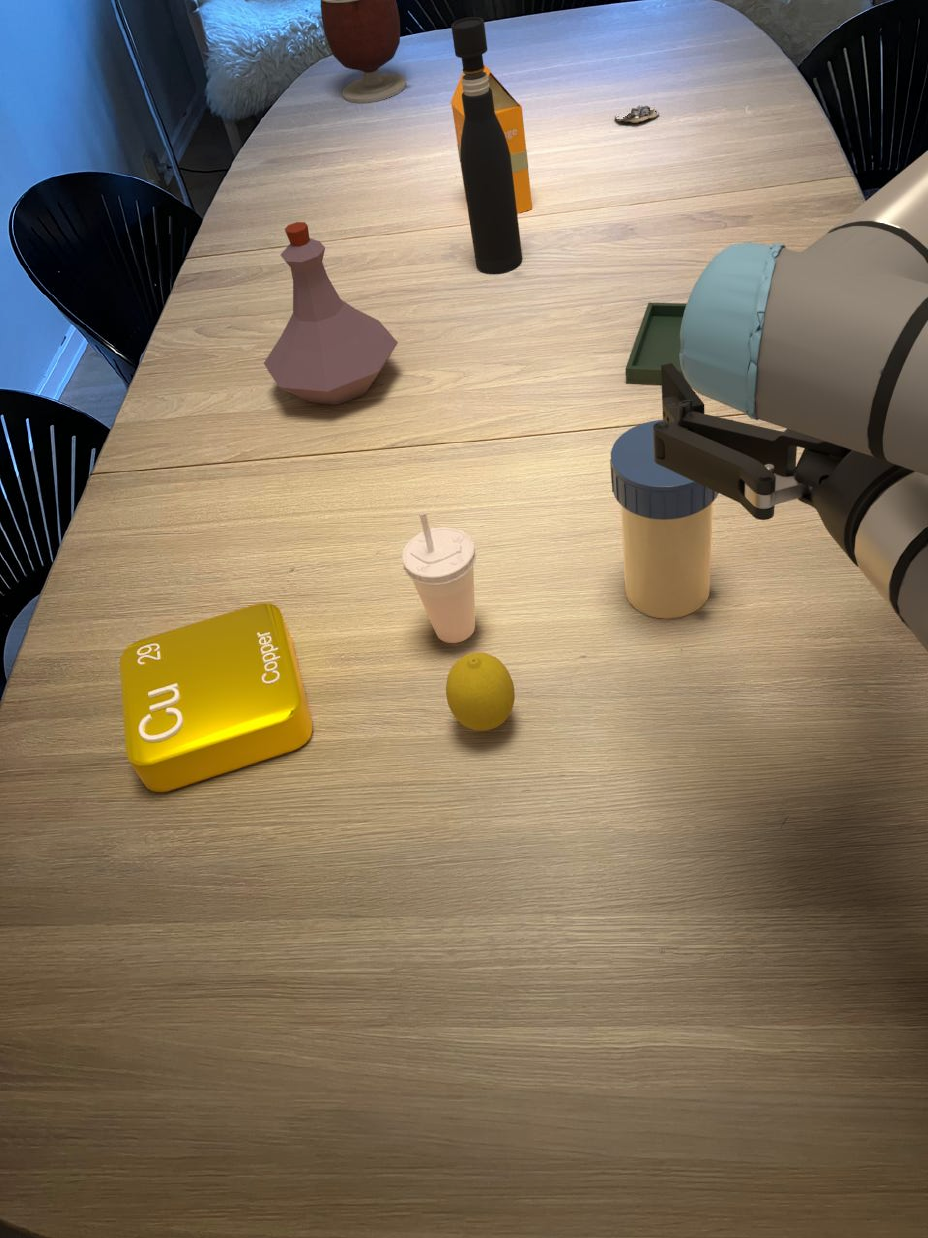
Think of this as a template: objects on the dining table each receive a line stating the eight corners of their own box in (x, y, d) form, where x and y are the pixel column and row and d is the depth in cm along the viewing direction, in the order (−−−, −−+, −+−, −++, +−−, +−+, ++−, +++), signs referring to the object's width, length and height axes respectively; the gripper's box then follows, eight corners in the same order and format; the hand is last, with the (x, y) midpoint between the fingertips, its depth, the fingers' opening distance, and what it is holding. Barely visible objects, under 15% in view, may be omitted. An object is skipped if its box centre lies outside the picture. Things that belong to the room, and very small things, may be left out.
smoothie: (423, 605, 97) (394, 491, 87) (490, 600, 96) (469, 483, 87) (418, 656, 93) (387, 541, 83) (489, 651, 92) (466, 534, 82)
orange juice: (512, 187, 157) (496, 45, 143) (533, 208, 151) (518, 62, 137) (464, 201, 156) (443, 59, 142) (483, 223, 150) (463, 78, 136)
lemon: (444, 741, 86) (428, 680, 80) (468, 691, 89) (453, 629, 84) (507, 755, 84) (494, 693, 78) (528, 704, 87) (518, 640, 82)
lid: (728, 455, 87) (729, 421, 85) (713, 525, 81) (714, 491, 79) (623, 448, 90) (622, 415, 87) (601, 515, 84) (599, 482, 82)
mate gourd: (338, 84, 201) (312, -33, 187) (408, 70, 200) (387, -48, 186) (340, 113, 190) (312, -9, 176) (414, 98, 190) (392, -25, 175)
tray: (786, 320, 121) (787, 305, 120) (773, 390, 112) (774, 374, 111) (648, 316, 126) (648, 302, 125) (626, 383, 117) (625, 368, 116)
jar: (715, 564, 95) (720, 432, 85) (703, 623, 91) (706, 491, 80) (633, 556, 98) (628, 426, 87) (617, 613, 93) (609, 483, 82)
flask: (334, 439, 118) (287, 278, 104) (246, 397, 127) (192, 244, 113) (432, 369, 125) (401, 209, 111) (342, 333, 134) (303, 182, 120)
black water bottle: (531, 260, 141) (505, 18, 119) (493, 278, 139) (460, 35, 117) (504, 246, 145) (474, 9, 123) (467, 263, 143) (430, 26, 121)
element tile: (318, 745, 88) (303, 709, 84) (145, 801, 86) (123, 767, 83) (289, 627, 98) (275, 591, 95) (134, 675, 97) (115, 641, 93)
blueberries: (607, 124, 168) (607, 112, 167) (631, 105, 173) (630, 93, 171) (644, 128, 165) (644, 116, 164) (667, 108, 169) (667, 96, 168)
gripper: (688, 628, 56) (590, 447, 73) (1127, 533, 57) (930, 376, 74) (686, 511, 51) (582, 347, 68) (1164, 410, 52) (945, 272, 69)
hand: (762, 362), depth 71 cm, fingers open, 13 cm apart
